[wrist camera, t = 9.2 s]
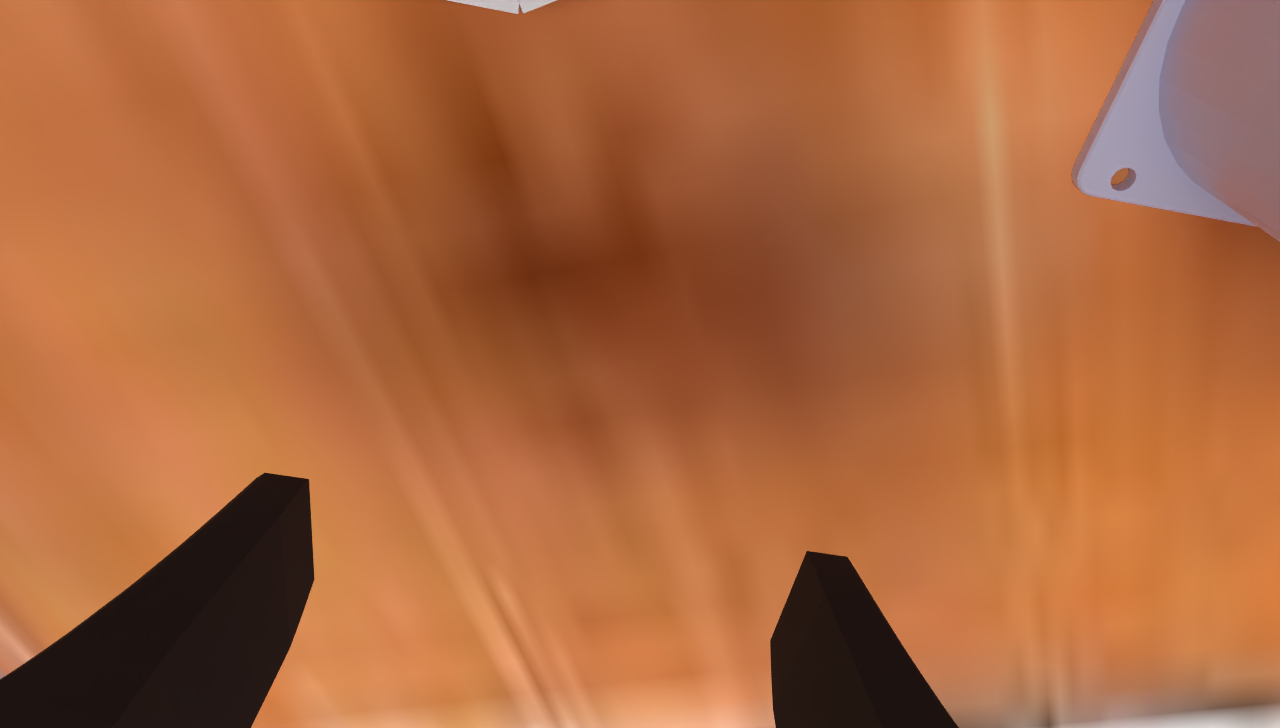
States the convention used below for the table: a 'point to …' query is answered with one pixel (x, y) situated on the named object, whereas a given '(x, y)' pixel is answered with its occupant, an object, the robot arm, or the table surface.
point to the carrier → (507, 4)
